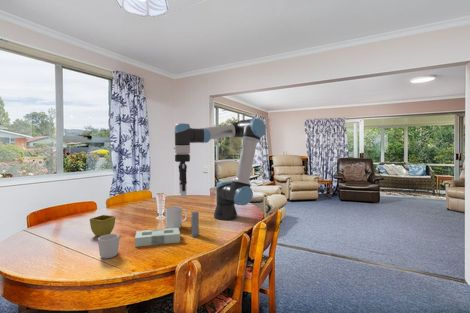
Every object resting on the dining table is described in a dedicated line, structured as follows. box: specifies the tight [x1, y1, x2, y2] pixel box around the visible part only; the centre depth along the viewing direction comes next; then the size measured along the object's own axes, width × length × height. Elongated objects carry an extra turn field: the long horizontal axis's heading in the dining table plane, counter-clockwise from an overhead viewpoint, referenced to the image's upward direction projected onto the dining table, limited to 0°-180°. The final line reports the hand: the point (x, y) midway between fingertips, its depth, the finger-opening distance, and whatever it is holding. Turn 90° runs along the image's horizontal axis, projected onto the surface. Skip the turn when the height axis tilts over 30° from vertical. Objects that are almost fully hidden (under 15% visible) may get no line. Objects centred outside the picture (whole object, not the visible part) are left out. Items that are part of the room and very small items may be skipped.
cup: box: [97, 233, 120, 259], centre depth 106 cm, size 11×8×8 cm
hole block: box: [134, 228, 181, 248], centre depth 122 cm, size 20×10×4 cm, turn 107°
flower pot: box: [89, 214, 116, 237], centre depth 130 cm, size 9×9×9 cm
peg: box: [190, 211, 200, 238], centre depth 129 cm, size 3×3×12 cm
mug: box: [164, 205, 188, 229], centre depth 143 cm, size 12×9×11 cm
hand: (182, 195), depth 130 cm, fingers open, 13 cm apart
